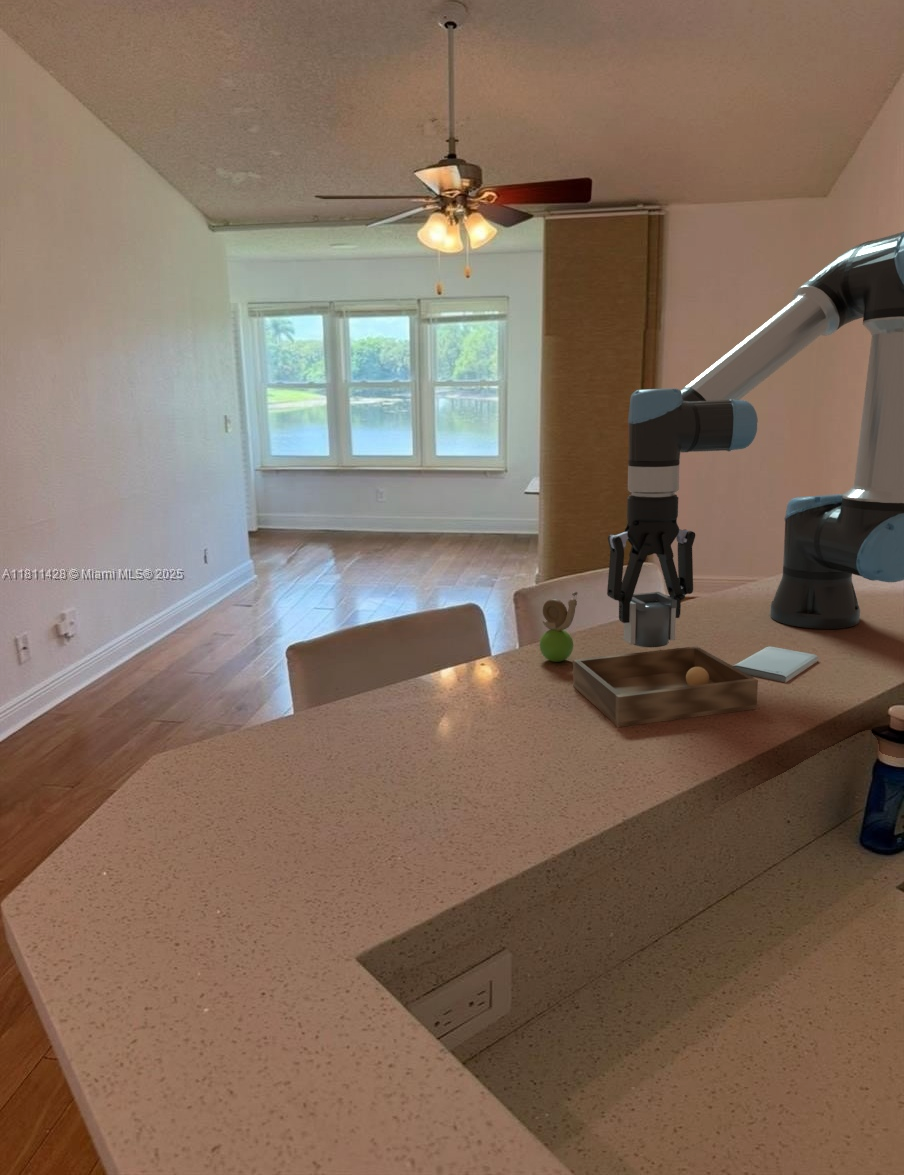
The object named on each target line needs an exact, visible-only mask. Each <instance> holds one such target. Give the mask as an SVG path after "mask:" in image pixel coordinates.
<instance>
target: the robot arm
mask: <svg viewBox="0 0 904 1175" xmlns="http://www.w3.org/2000/svg"><path fill="white" fill-rule="evenodd" d="M794 291H795V292H794V293H793V297H792V300H791V301H790V302H789V303H788V304H786V305H785V306H784V307H782V309H780V310H779V311H778V312H776V313H775V314H774V315H773V316H772V317H771V318H769V319H768V320H766V322H764V323H763V324H762V325H760V327H758V328H756V329H755V330H754V331H753V332H751V333H750V335H748V336H747V337H745V338H744V339H743V340H742V341H741V342H739V343H737V345H735V346H734V347H733V348H732V349H731V350H729V351H728V352H727V353H726V354H724V355H723V356H722V357H721V358H719V359H717V361H716V362H714V363H713V364H712V365H710V366H709V367H708V368H707V369H705V370H704V371H703V372H702V373H701V374H699V375H698V376H697V377H696V378H694V380H692V381H691V382H690V383H688V384H687V385H685V386H684V387H683V388H681V389H679V388H652V389H651V388H649V389H645V388H644V389H637V390H635V391H634V392H632V394H631V395H630V400H629V401H630V402H629V404H628V405H629V406H628V407H629V408H628V409H629V410H628V419H627V423H628V463H627V464H628V465H627V491H628V492H630V493H631V494H629V495H628V497H626V498H627V499H626V501H627V504H626V506H627V508H626V510H627V511H626V519H627V523H626V526H625V528H624V532H621V533H618V534H615V535H614V534H609V535H608V536H607V542H608V546H609V549H610V550H609V551H610V553H609V564H608V566H609V567H608V577H607V590H606V594H607V597H609V598H611V599H612V600H615V601H617V602H618V621H620V622H621V623H623V641H624V642H626V643H628V644H629V645H633V644H635V630H636V603H634V602H632V601H631V600H632V597H633V594H635V591H636V590H635V589H636V588H637V584H638V580H639V577H640V575H641V571H642V568H643V565H644V563H645V562H646V560H647V557H648V556H651V555H654V554H655V555H656V556H657V558H658V560H659V564H660V567H661V571H662V574H663V575H662V576H663V579H664V582H665V586H666V590H667V593H668V596H669V597H671V598H673V599H675V600H677V608H670V613H669V641H675V640H676V619H680V617H681V606H682V601H683V600H684V599H686V598H685V597H686V595H690V594H692V593H694V568H693V567H694V564H693V562H694V561H693V560H694V559H693V545H694V542H695V539H696V533H695V531H693V530H690V529H689V530H688V529H680V527H679V525H678V520H677V519H678V517H679V496H678V495H677V494H675V493H676V492H679V490H680V460H681V453H692V452H694V453H695V452H697V453H698V452H719V451H722V452H723V451H724V452H731V451H735V450H744V449H746V448H747V447H749V446H750V445H751V444H752V443H753V442H754V440H755V439H756V435H757V432H758V423H759V422H758V414H757V410H756V409H755V407H754V406H753V404H752V403H751V402H749V401H747V400H743V398H744V397H746V396H747V395H748V394H749V393H750V392H751V391H752V390H754V389H755V388H757V387H758V386H759V385H760V384H761V383H763V382H764V381H766V380H767V379H768V378H769V377H771V375H773V374H774V373H775V372H777V371H778V370H779V369H780V368H781V367H783V366H784V365H785V364H787V363H788V362H789V361H791V360H792V359H793V358H794V357H796V356H797V355H798V354H799V353H800V352H802V351H803V350H804V349H806V347H808V346H809V345H810V344H812V343H813V342H815V340H817V339H819V337H821V336H825V337H826V336H831V335H832V334H834V333H835V332H836V331H837V330H839V329H840V328H841V327H843V326H844V325H845V326H846V324H850V323H851V322H854V321H856V320H859V319H862V325H863V326H864V327H865V329H866V330H867V331H868V332H869V333H870V335H871V338H870V340H871V341H870V348H869V355H868V356H869V357H868V364H867V372H866V373H867V374H866V381H865V382H866V383H865V390H864V398H863V408H862V414H861V422H860V433H859V439H858V448H857V455H856V456H857V457H856V464H855V473H854V481H853V485H852V487H851V488H849V489H848V490H847V491H846V492H845V493H843V494H841V493H840V494H826V495H824V494H823V495H809V496H797V497H793V498H792V499H790V500H789V501H788V502H787V504H786V505H787V506H786V511H785V516H784V522H785V523H784V541H783V542H784V543H783V561H782V562H783V563H782V575H781V579H780V582H779V584H778V586H777V589H776V592H775V594H774V597H773V600H772V601H771V603H770V614H769V615H770V618H771V619H772V620H774V621H775V622H778V623H781V624H784V625H788V626H794V627H799V628H805V629H815V630H816V629H820V630H837V629H846V628H851V627H854V626H856V625H858V624H859V623H860V617H861V608H860V606H859V602H858V598H857V594H856V590H855V587H854V586H855V585H854V583H853V575H855V576H857V577H858V576H859V577H862V578H863V579H865V580H869V581H879V582H884V583H898V582H902V581H904V231H900V232H898V233H894V234H891V235H887V236H884V237H880V238H876V239H871V240H868V241H866V242H863V243H859V244H856V245H855V246H853V247H851V248H850V249H848V250H846V251H844V253H842V254H840V255H839V256H837V257H836V258H834V260H832V261H831V262H829V263H828V264H827V265H826V266H824V268H823V267H822V269H821V270H819V271H818V272H817V273H815V275H813V276H812V277H811V278H810V279H808V280H807V281H805V282H804V283H803V284H801V286H800V287H798V288H797V289H796V290H794ZM675 539H676V541H677V567H676V565H675V561H674V553H673V549H672V545H673V542H674V541H675ZM627 541H628V542H629V543H630V545H631V547H630V551H629V554H628V555H629V556H628V557H629V559H628V562H627V565H626V569H625V573H623V572H624V561H625V560H624V559H625V547H626V546H627ZM676 568H677V569H676ZM623 574H624V576H623Z"/></svg>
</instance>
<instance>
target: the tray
mask: <svg viewBox="0 0 904 1175" xmlns="http://www.w3.org/2000/svg"><path fill="white" fill-rule="evenodd" d="M733 666H734V665H732V664H729V663H728V662H726V661H725V660H723V659H720V658H719V657H717V656H715V655H713V654H712V653H710V652H708V651H707V650H704V649H703V648H700V647H699V646H695V645H693V646H686V647H679V648H678V647H677V648H668V649H659V650H649V651H642V652H631V653H622V654H615V655H614V654H613V655H607V656H605V655H604V656H597V657H588V658H578V659H573V660H572V670H573V671H572V674H573V675H572V677H573V678H572V679H573V680H572V681H573V682H572V683H573V687H574V688H575V689H576V690H577V691H578V692H579V693H580V694H581V695H582V696H583V697H584V698H586V700H588V701H589V702H590V703H591V704H592V705H594V706H595V708H597V709H598V710H599V711H600V712H601V713H602V714H603V715H604V716H606V717H607V718H608V719H609V720H610V721H611V722H612V724H614V725H615V726H617V727H618V728H620V727H627V726H635V725H642V724H653V723H658V722H666V721H673V720H681V719H689V718H697V716H698V717H703V716H704V717H705V716H712V715H719V714H720V713H721V714H726V713H734V712H735V713H736V712H741V711H742V712H743V711H749V710H757V707H758V704H757V703H758V688H759V686H758V684H759V680H758V679H757V678H755V677H753V675H748V674H746V673H744V672H742V671H741V670H739V669H737V668H735V667H733ZM693 667H702V668H704V669H705V670H706V671H707V672H708V674H709V682H708V684H702V685H694V686H689V685H688V683H687V681H686V674H687V672H688V671H689V670H690V669H691V668H693Z"/></svg>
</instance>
